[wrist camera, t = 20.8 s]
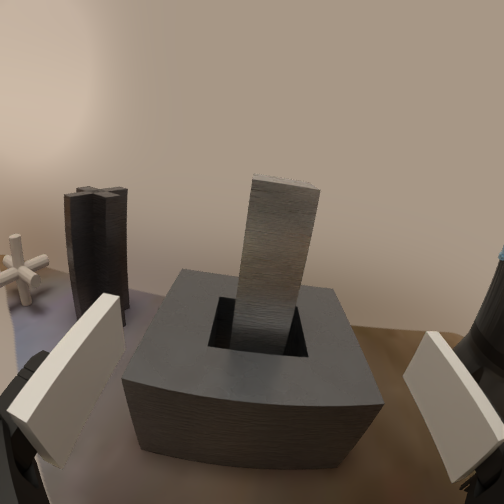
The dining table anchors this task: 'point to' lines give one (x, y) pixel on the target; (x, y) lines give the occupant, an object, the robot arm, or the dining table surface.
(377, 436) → the dining table surface
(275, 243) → the square bit
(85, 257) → the cross bit
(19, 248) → the pipe connector
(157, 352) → the bore block
